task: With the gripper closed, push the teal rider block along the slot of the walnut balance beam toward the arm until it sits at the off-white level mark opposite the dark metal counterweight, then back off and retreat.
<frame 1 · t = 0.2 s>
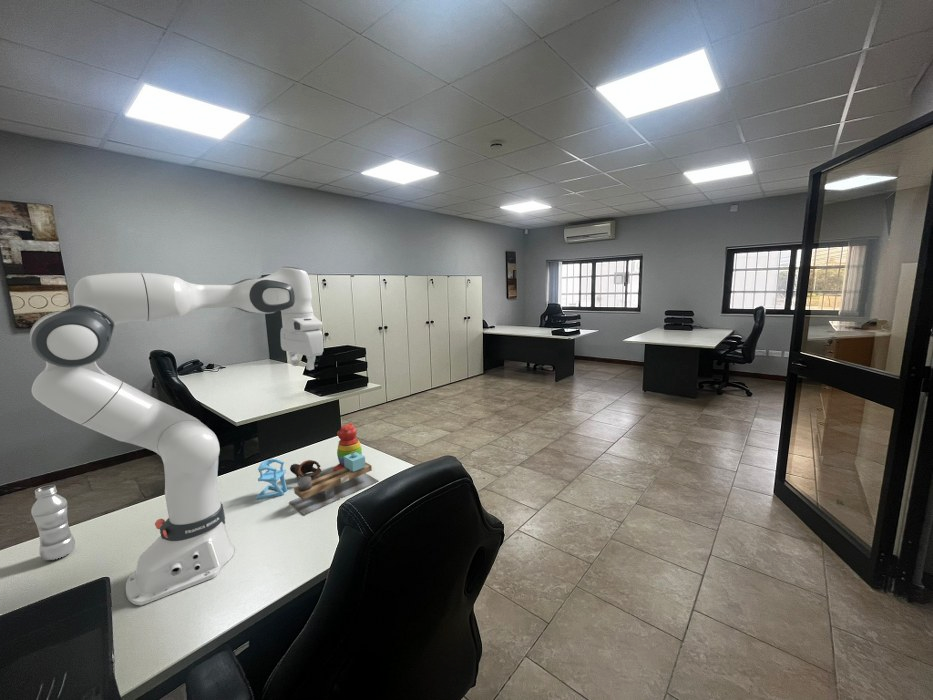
hand: (302, 367, 115), 47 cm above the table, fingers open, 8 cm apart
plastic bottle: (59, 556, 103), on the table
beam: (336, 491, 134), on the table
stacking bear: (349, 467, 152), on the table
chair: (274, 493, 134), on the table
rider: (354, 463, 138), point 8 cm above the table, slide at 8.0 cm
pottery mug: (306, 479, 143), on the table
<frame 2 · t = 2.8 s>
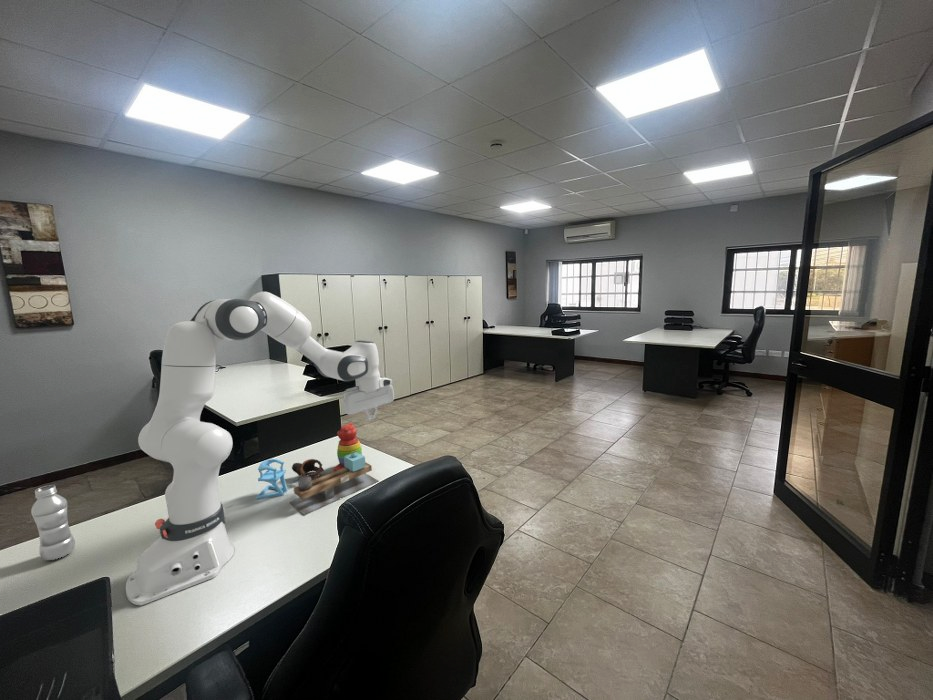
hand: (371, 419, 142), 22 cm above the table, fingers closed
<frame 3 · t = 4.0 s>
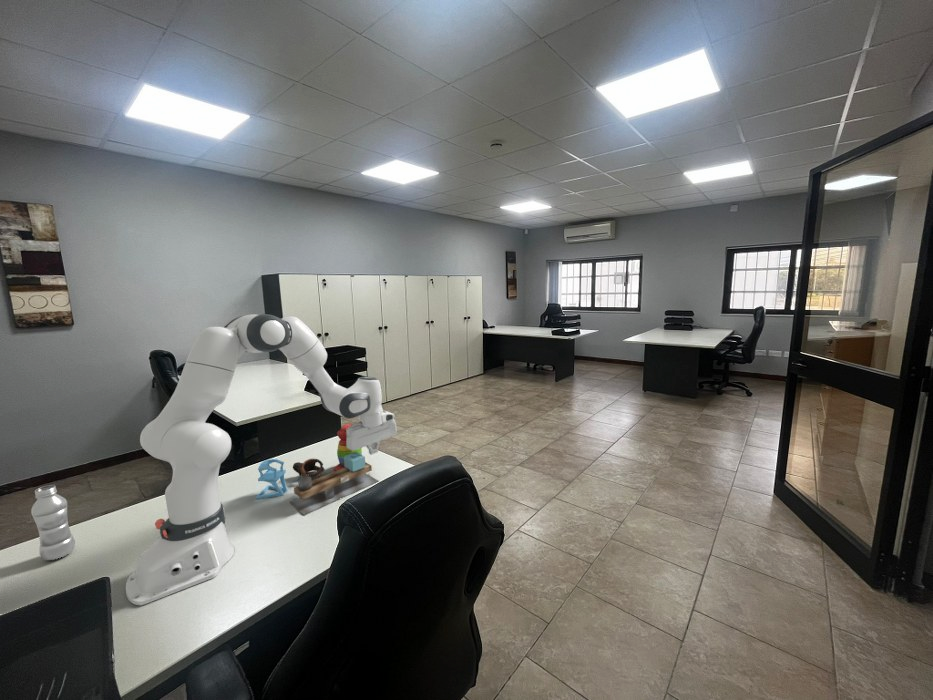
hand: (373, 453, 144), 9 cm above the table, fingers closed
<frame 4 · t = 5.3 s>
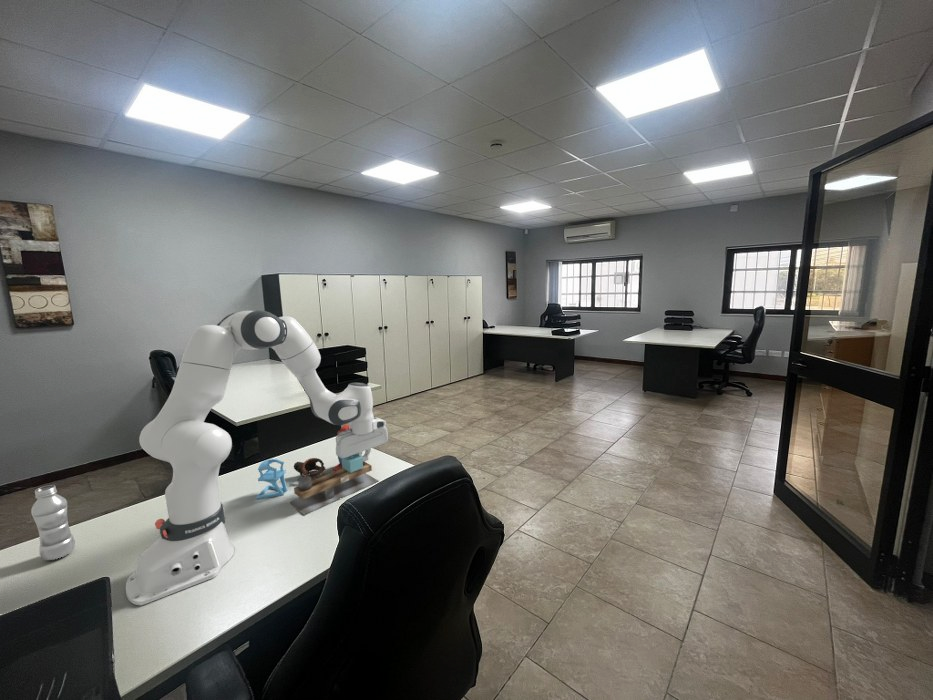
hand: (363, 460, 141), 7 cm above the table, fingers closed
rider: (352, 464, 137), point 8 cm above the table, slide at 7.0 cm, touching gripper
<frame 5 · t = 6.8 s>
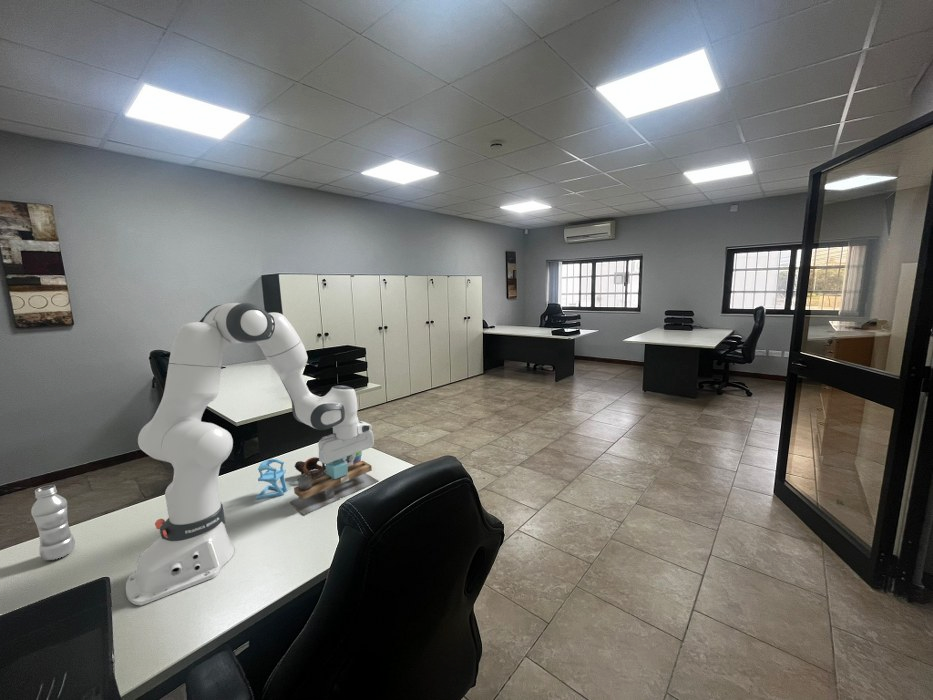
hand: (348, 466, 136), 8 cm above the table, fingers closed
rider: (336, 470, 133), point 8 cm above the table, slide at 0.9 cm, touching gripper
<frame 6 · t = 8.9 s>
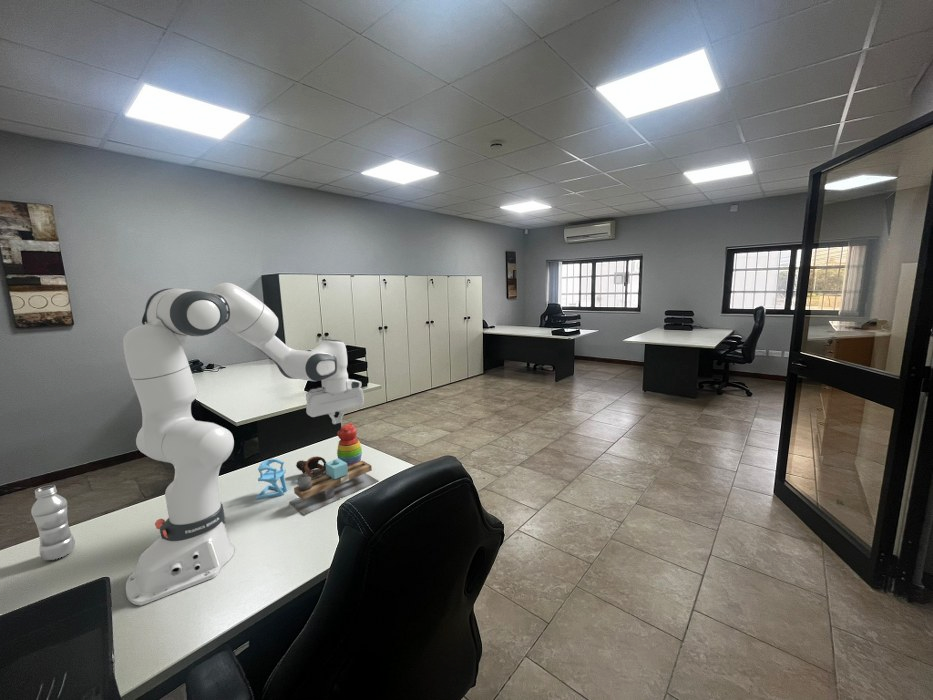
hand: (337, 423, 134), 24 cm above the table, fingers closed
rider: (336, 470, 133), point 8 cm above the table, slide at 0.9 cm
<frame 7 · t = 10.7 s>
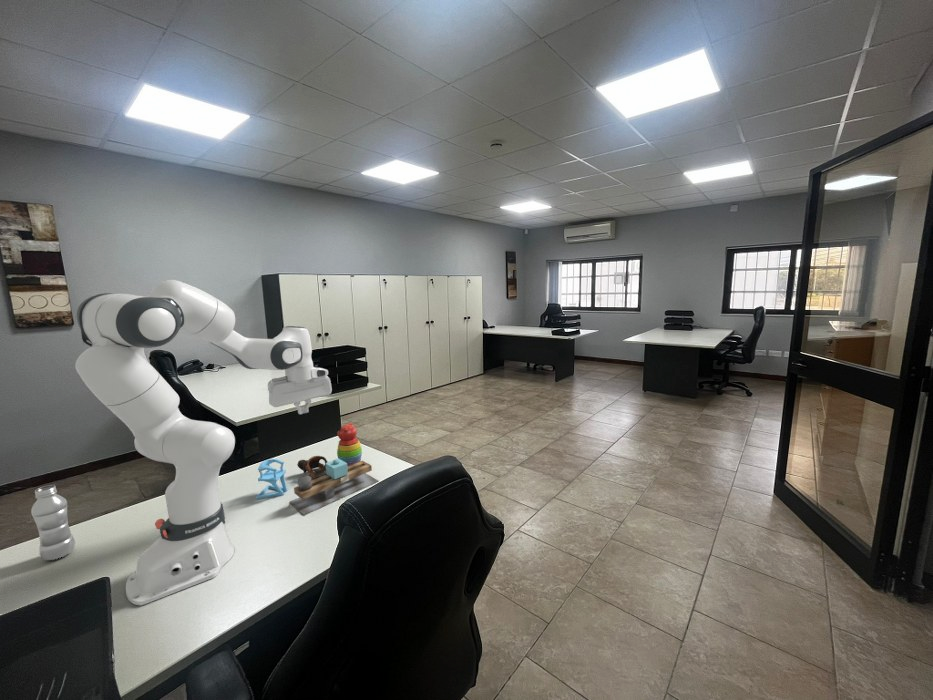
hand: (303, 413, 129), 29 cm above the table, fingers closed
at the end: rider slide at 0.9 cm; rider touching nothing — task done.
